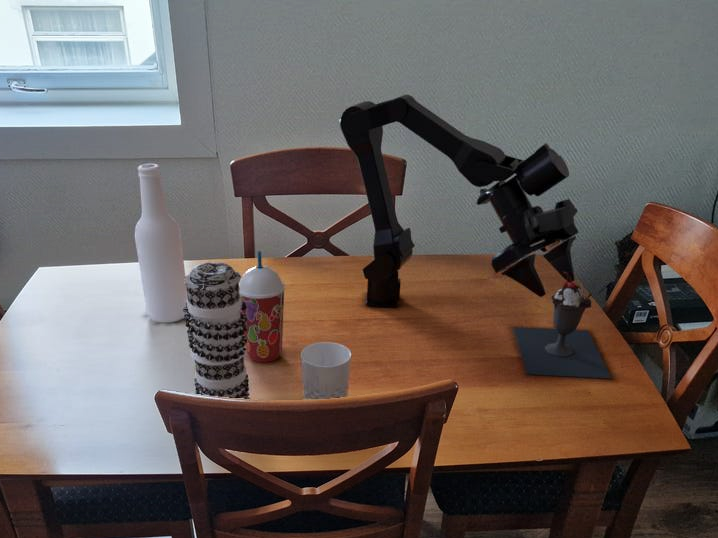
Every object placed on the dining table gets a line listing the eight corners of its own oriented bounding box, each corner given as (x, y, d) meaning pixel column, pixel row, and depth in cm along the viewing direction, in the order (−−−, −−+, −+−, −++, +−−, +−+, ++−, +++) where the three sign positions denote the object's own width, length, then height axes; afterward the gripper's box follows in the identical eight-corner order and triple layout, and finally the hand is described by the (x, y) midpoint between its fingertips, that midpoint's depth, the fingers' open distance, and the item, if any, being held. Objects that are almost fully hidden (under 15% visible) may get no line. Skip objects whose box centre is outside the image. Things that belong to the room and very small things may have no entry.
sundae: (534, 342, 123) (550, 267, 114) (569, 341, 123) (588, 265, 115) (547, 360, 118) (565, 282, 109) (584, 358, 118) (605, 280, 109)
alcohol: (182, 302, 142) (164, 158, 125) (195, 318, 135) (178, 168, 118) (142, 310, 139) (118, 163, 122) (154, 327, 132) (130, 174, 115)
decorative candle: (210, 395, 111) (195, 253, 97) (261, 404, 108) (253, 260, 94) (186, 425, 104) (166, 276, 89) (239, 435, 101) (228, 284, 87)
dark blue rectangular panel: (527, 374, 114) (527, 373, 114) (513, 327, 129) (513, 327, 128) (611, 379, 112) (612, 378, 112) (587, 331, 127) (587, 330, 127)
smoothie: (292, 347, 124) (290, 245, 112) (277, 369, 117) (273, 263, 106) (251, 341, 126) (245, 241, 115) (234, 362, 120) (226, 258, 108)
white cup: (346, 423, 103) (348, 368, 97) (297, 418, 104) (296, 364, 99) (352, 396, 109) (354, 343, 104) (305, 392, 111) (305, 340, 105)
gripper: (518, 197, 105) (565, 282, 104) (580, 175, 114) (624, 253, 114) (471, 233, 114) (514, 311, 113) (532, 210, 124) (572, 282, 123)
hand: (558, 288), depth 116 cm, fingers open, 9 cm apart
